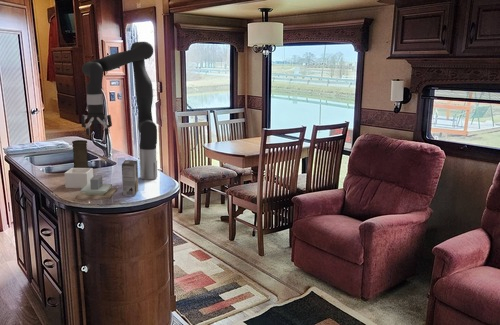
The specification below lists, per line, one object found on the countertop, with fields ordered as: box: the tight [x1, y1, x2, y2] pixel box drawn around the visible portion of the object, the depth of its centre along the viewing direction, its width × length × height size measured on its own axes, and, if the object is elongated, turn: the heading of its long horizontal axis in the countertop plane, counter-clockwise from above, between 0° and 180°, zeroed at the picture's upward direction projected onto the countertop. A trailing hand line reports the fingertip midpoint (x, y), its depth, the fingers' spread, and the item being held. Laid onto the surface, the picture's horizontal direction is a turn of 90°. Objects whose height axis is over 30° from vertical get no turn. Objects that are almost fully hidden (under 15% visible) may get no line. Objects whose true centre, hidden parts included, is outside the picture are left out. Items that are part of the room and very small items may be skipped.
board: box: [74, 187, 118, 200], centre depth 208 cm, size 16×16×1 cm
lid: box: [79, 174, 113, 195], centre depth 208 cm, size 12×12×8 cm
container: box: [71, 139, 90, 168], centre depth 250 cm, size 9×9×18 cm
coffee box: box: [121, 159, 139, 197], centre depth 210 cm, size 9×6×16 cm
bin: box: [64, 167, 94, 189], centre depth 221 cm, size 11×11×8 cm
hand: (97, 135), depth 212 cm, fingers open, 8 cm apart
